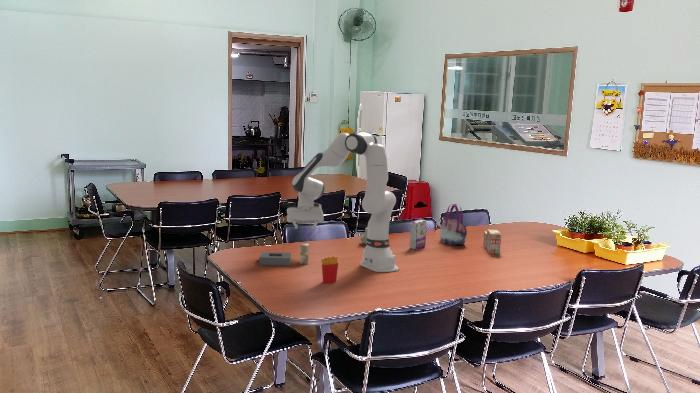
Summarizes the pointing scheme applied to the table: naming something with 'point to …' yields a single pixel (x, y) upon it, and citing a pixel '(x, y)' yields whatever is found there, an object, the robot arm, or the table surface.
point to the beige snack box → (492, 241)
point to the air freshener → (364, 236)
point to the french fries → (329, 269)
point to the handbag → (453, 228)
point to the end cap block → (275, 258)
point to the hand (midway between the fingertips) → (305, 228)
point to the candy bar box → (417, 234)
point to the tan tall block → (304, 253)
